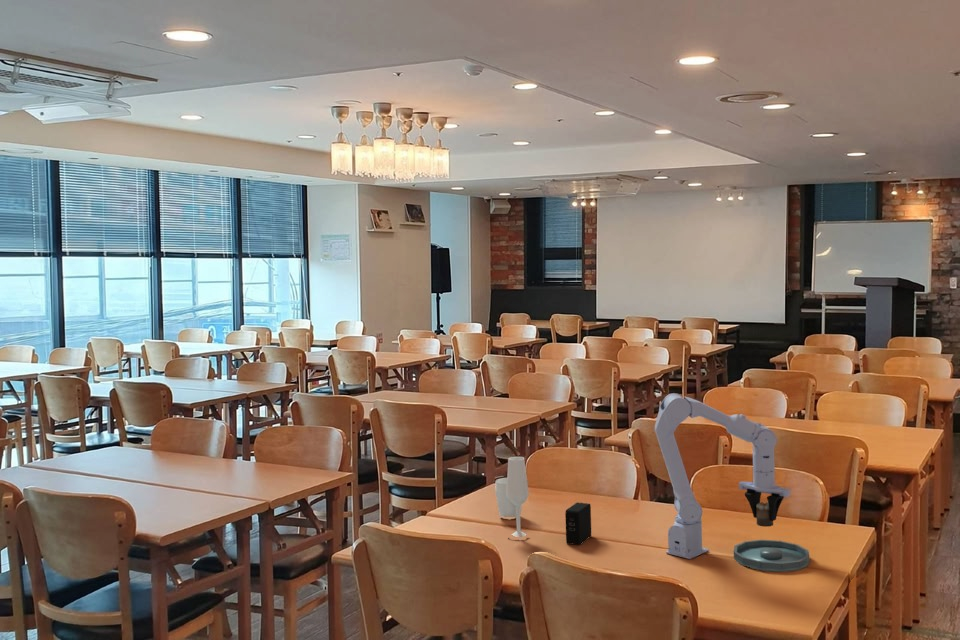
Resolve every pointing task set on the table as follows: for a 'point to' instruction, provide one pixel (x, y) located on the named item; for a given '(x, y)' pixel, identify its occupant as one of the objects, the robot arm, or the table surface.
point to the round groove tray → (785, 558)
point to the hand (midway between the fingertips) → (764, 518)
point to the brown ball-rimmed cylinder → (763, 515)
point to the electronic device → (578, 523)
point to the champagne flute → (517, 487)
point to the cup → (504, 499)
